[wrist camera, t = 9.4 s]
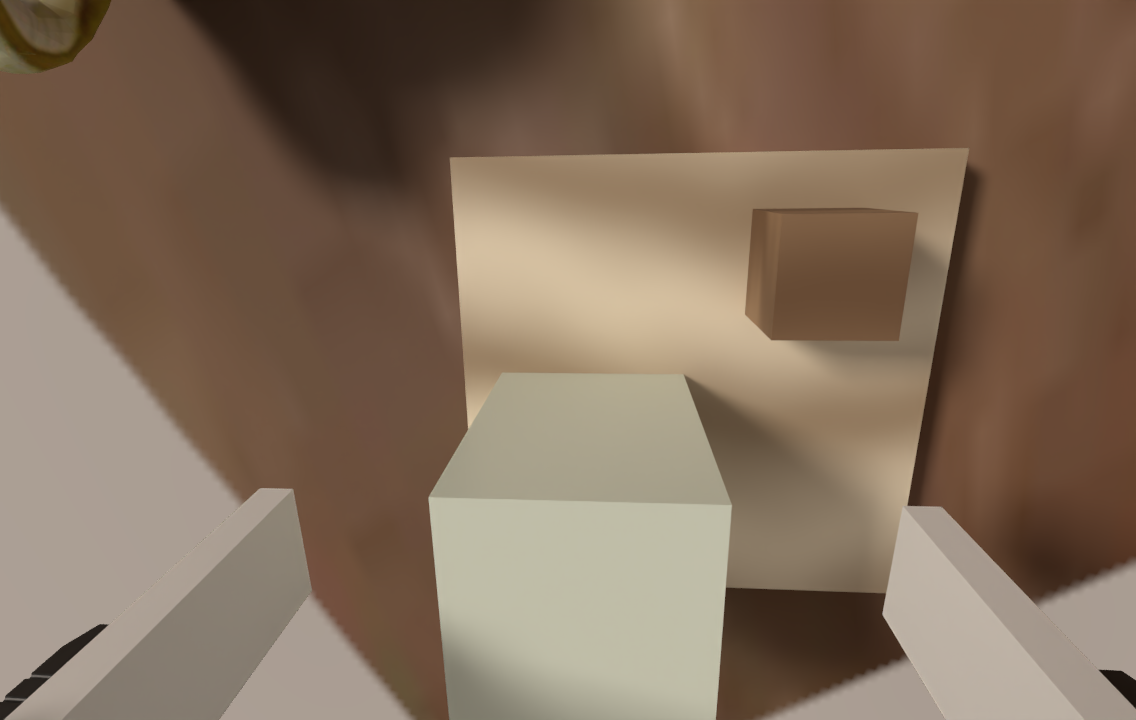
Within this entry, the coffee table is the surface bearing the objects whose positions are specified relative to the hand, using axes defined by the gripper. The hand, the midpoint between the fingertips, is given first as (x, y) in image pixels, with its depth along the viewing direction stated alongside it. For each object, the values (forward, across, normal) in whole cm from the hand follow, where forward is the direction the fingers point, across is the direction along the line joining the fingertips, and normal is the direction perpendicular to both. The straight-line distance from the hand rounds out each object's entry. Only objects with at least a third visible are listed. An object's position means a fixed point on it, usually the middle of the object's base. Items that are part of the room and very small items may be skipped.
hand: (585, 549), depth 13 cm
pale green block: (+6, 0, -1) cm, 6 cm away
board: (+7, +3, +1) cm, 8 cm away
